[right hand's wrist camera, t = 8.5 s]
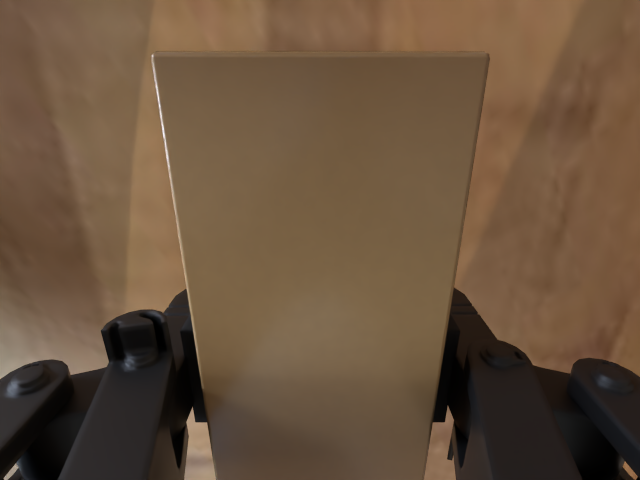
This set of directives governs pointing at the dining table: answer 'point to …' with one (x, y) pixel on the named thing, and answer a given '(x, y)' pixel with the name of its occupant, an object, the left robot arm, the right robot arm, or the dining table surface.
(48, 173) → the dining table surface
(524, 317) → the dining table surface
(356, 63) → the plank
